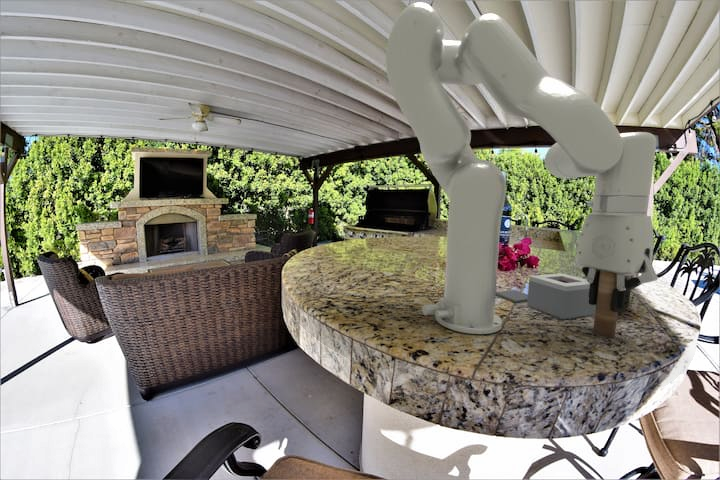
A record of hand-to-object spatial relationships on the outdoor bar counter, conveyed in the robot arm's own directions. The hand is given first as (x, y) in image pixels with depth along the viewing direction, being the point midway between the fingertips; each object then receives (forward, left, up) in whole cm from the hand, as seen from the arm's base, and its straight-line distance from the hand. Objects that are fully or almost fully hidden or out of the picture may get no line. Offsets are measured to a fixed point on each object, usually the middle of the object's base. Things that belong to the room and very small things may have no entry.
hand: (607, 306), depth 57 cm
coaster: (+1, +22, -5) cm, 23 cm away
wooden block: (0, 0, -5) cm, 5 cm away
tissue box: (+4, +12, -5) cm, 14 cm away
